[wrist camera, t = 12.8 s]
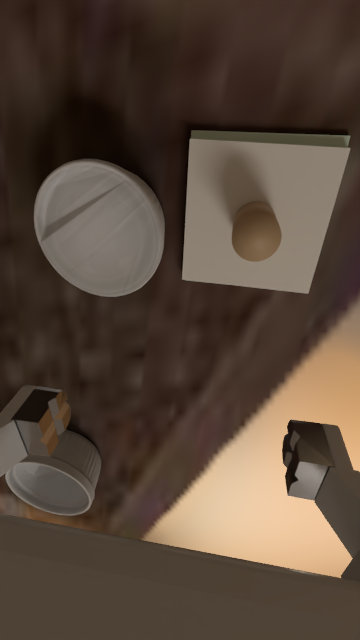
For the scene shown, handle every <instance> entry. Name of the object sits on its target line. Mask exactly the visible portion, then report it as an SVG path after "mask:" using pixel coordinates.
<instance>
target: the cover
mask: <svg viewBox="0 0 360 640" xmlns="http://www.w3.org/2000/svg"><path fill="white" fill-rule="evenodd" d="M349 152H350V148H347V147H330V146H312V145H295V144H278V143H261V142H244V141H226V140H209V139H192V138H191V139H190V142H189V161H188V180H187V198H186V217H185V236H184V254H183V273H182V279H183V280H192V281H201V282H210V283H219V284H228V285H237V286H245V287H254V288H263V289H272V290H281V291H290V292H299V293H309V289H310V286H311V282H312V279H313V275H314V272H315V269H316V265H317V262H318V258H319V255H320V251H321V248H322V245H323V241H324V238H325V234H326V231H327V227H328V224H329V220H330V217H331V214H332V210H333V207H334V203H335V200H336V196H337V193H338V190H339V186H340V183H341V179H342V176H343V172H344V169H345V166H346V162H347V159H348V155H349Z"/></svg>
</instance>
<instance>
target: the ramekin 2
mask: <svg viewBox="0 0 360 640" xmlns="http://www.w3.org/2000/svg"><path fill="white" fill-rule="evenodd" d="M58 439H59V442H58V444H57V446H56V447H55V449H54V451H53V453H52V454H51V456H50V457H46V456H38V455H30V454H28V456H27V457H25V458H24V459H23V460H21V461H20V462H19V463H18V464H16V465H15V466H14V467H13V468H11V469H10V470H9V471H7V472H6V475H5V477H6V481H7V484H8V486H9V487H10V488H11V490H12V491H13V492H14V493H15V494H16V495H17V496H18V497H20V498H21V499H22V500H24V501H25V502H27V503H28V504H30V505H32V506H34V507H36V508H38V509H41V510H44V511H47V512H50V513H54V514H59V515H77V514H81V513H83V512H85V511H87V510H88V509H89V508H90V506H91V504H92V501H93V499H94V490H95V487H96V484H97V480H98V477H99V473H100V469H101V459H100V455H99V452H98V450H97V449H96V447H95V446H94V445H93V444H92V443H91V442H90V441H89V440H88V439H86V438H85V437H83V436H82V435H80V434H78V433H75V432H72V431H69V430H65V431H64V432H63V433H61V434H60V435H58Z"/></svg>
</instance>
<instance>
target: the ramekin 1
mask: <svg viewBox="0 0 360 640" xmlns="http://www.w3.org/2000/svg"><path fill="white" fill-rule="evenodd" d="M34 226H35V231H36V235H37V238H38V241H39V244H40V247H41V248H42V251H43V252H44V254H45V256H46V258H47V259H48V261H49V262H50V264H51V265H52V266H53V267H54V269H55V270H56V271H57V272H58V273H59V274H60V275H61V276H62V277H64V278H65V279H66V280H67V281H68V282H70V283H71V284H73V285H74V286H76V287H78V288H80V289H82V290H84V291H86V292H89V293H92V294H95V295H100V296H109V297H117V296H121V295H126V294H129V293H131V292H134V291H136V290H138V289H139V288H141V287H142V286H143V285H144V284H145V283H146V282H147V281H148V280H149V279H150V278H151V277H152V275H153V274H154V272H155V271H156V269H157V267H158V265H159V263H160V260H161V257H162V253H163V247H164V231H165V221H164V215H163V211H162V207H161V205H160V203H159V200H158V199H157V197H156V195H155V193H154V192H153V191H152V190H151V188H150V187H149V186H148V185H147V184H146V183H145V182H144V181H143V180H142V179H140V178H139V177H138V176H137V175H135V174H133V173H132V172H129V171H127V170H125V169H123V168H121V167H119V166H117V165H115V164H113V163H110V162H107V161H103V160H98V159H80V160H74V161H71V162H68V163H65V164H63V165H61V166H60V167H58V168H56V169H55V170H54V171H52V172H51V173H50V174H49V175H48V176H47V178H46V179H45V180H44V181H43V183H42V185H41V186H40V188H39V191H38V193H37V196H36V201H35V205H34Z"/></svg>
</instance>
